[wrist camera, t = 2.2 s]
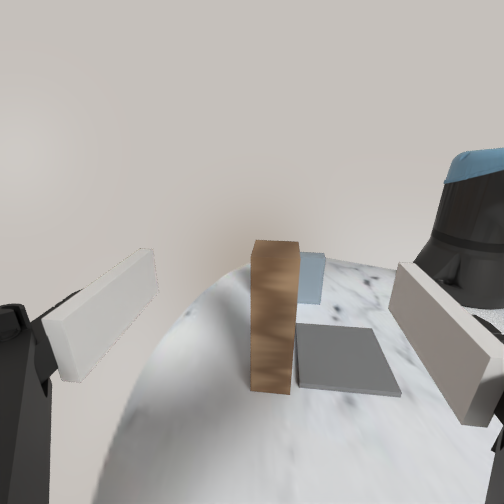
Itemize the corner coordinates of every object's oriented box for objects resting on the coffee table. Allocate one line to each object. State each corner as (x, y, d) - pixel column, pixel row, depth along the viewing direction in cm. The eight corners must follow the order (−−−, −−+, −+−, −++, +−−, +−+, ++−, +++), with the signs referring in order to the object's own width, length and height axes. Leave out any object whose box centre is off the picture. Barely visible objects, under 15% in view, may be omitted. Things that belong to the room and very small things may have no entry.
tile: (318, 297, 44) (323, 252, 41) (320, 304, 42) (325, 258, 39) (258, 293, 45) (258, 249, 42) (256, 300, 43) (257, 255, 40)
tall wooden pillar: (289, 364, 31) (298, 241, 25) (289, 394, 27) (300, 259, 21) (254, 361, 31) (255, 240, 26) (250, 390, 28) (250, 256, 22)
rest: (371, 332, 36) (371, 328, 36) (400, 397, 27) (401, 392, 27) (295, 326, 37) (296, 323, 37) (299, 387, 28) (299, 383, 28)
